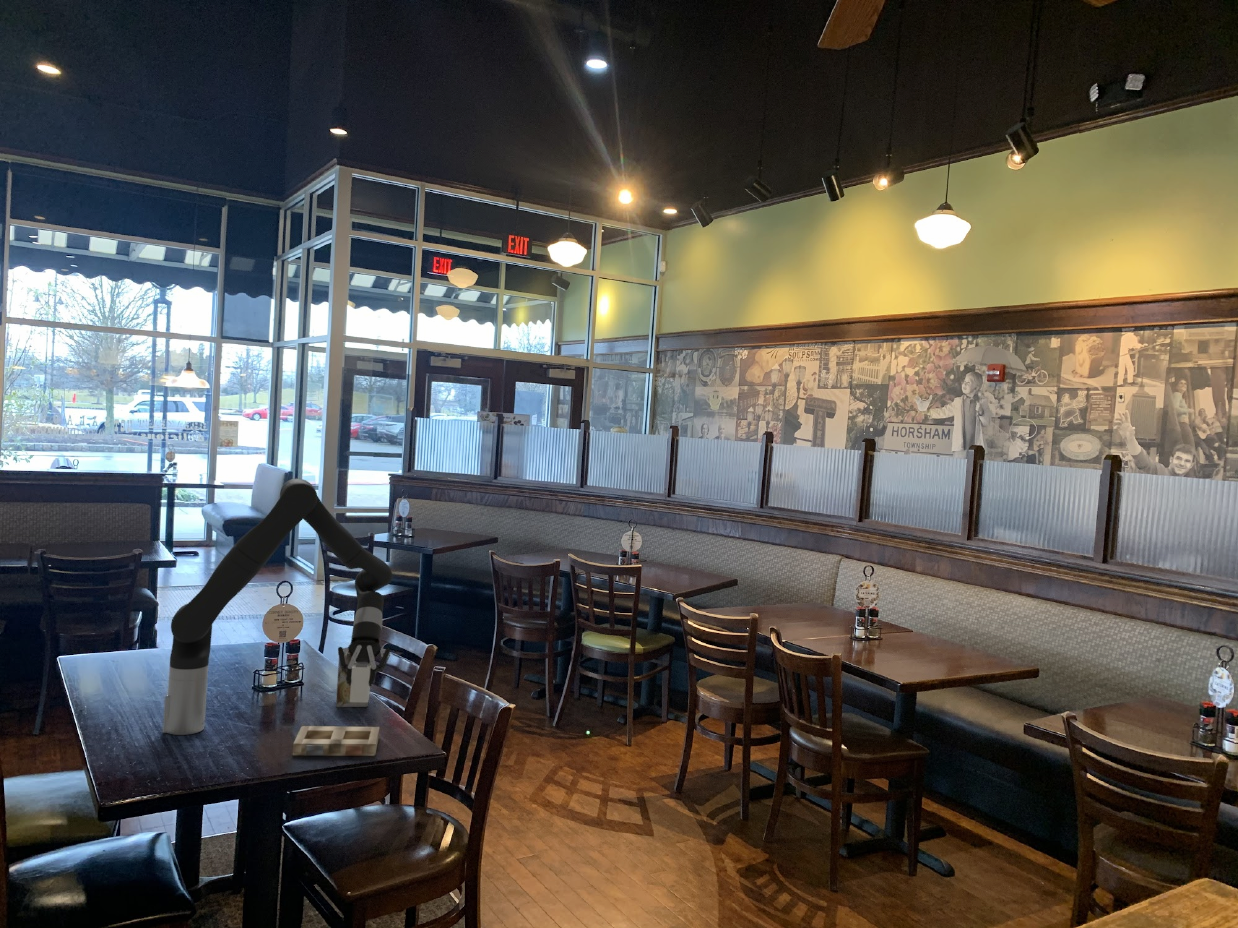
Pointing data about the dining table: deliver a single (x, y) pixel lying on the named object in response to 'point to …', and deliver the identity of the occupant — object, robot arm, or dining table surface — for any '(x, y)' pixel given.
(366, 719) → the dining table surface
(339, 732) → the socket board
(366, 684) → the white tall rectangular block
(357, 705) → the coffee box
